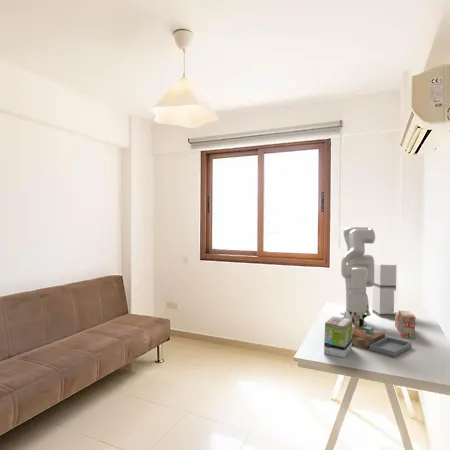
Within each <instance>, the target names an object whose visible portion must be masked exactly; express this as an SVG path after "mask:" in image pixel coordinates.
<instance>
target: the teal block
mask: <svg viewBox="0 0 450 450" xmlns="http://www.w3.org/2000/svg"><path fill="white" fill-rule="evenodd" d="M361 329H362V330H365V331H366V333H367V334H371V333H373V330H374V327H372V326H368V325H367V326H363V327H361Z"/></svg>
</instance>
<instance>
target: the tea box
mask: <svg viewBox="0 0 450 450" xmlns="http://www.w3.org/2000/svg"><path fill="white" fill-rule="evenodd" d="M352 326H353V323H352V320H351V319H346V318H343V317H338V316H332V317H331V318H329V319H328V320H326V322H325V323H324V340H323V343H324V344H323V354H326V355H329V356H334V357H338V358H343V359H344V358H346V357H347V355H348V354H349V352H351V350H352V346H353V345H352Z"/></svg>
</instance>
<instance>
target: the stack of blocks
mask: <svg viewBox="0 0 450 450" xmlns="http://www.w3.org/2000/svg"><path fill="white" fill-rule="evenodd" d="M394 314H395V317H394V327H395V329H396V330H397V332H398V333H399V334H400V337H401V338H404V339H411V340H416V320H417V319H416V316H415V314H414V313H412V312H411V311H410V310H400V309H399V310H398V311H394Z"/></svg>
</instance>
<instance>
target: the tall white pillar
mask: <svg viewBox="0 0 450 450" xmlns="http://www.w3.org/2000/svg"><path fill="white" fill-rule="evenodd" d="M395 291H397V264H394V263H390V262H386V264H381V263H377V262H374V285H373V286H372V304H371V305H372V314H374V315H376V316H378V317H379V318H395Z"/></svg>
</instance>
